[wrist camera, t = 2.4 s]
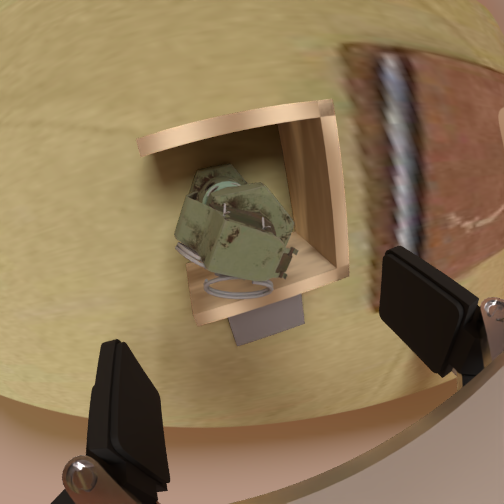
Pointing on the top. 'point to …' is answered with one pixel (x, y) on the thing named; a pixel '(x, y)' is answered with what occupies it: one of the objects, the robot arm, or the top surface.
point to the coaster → (267, 320)
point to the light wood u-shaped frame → (301, 194)
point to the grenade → (234, 231)
